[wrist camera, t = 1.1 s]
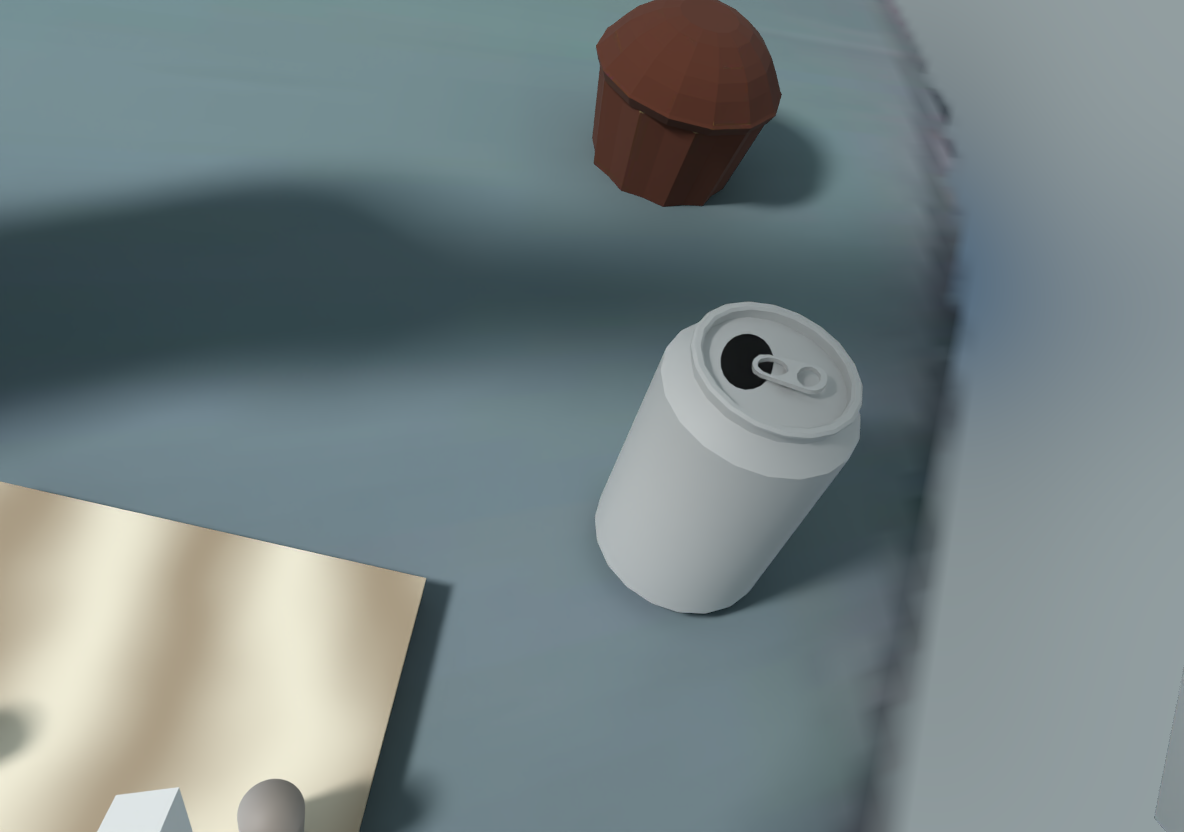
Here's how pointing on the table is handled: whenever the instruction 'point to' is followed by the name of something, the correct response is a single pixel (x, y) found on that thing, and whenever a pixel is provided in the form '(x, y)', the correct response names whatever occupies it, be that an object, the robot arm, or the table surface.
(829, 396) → the can
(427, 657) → the table surface
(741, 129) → the muffin
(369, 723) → the pin base
